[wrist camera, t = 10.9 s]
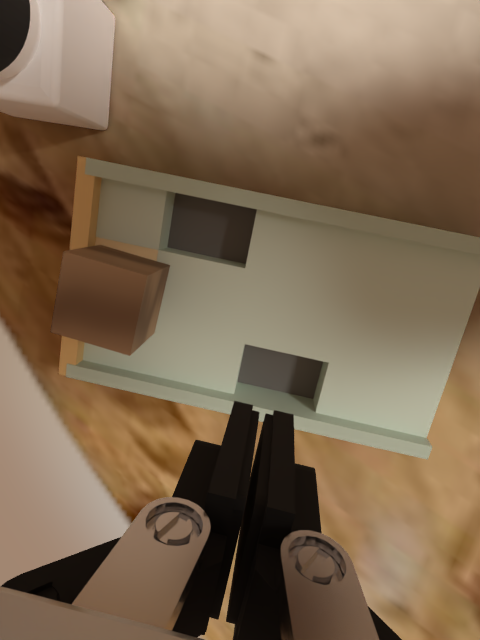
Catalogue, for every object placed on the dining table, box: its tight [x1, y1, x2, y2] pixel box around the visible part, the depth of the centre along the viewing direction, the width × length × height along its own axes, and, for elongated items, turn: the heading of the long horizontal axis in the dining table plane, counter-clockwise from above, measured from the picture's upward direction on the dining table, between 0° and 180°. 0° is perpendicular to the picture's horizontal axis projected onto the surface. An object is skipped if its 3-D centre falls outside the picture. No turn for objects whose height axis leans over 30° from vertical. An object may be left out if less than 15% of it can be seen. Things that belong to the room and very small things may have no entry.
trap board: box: [66, 157, 480, 459], centre depth 29 cm, size 26×15×4 cm, turn 79°
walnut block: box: [50, 245, 170, 356], centre depth 27 cm, size 5×5×5 cm
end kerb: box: [58, 156, 102, 376], centre depth 30 cm, size 1×15×4 cm, turn 169°
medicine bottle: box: [0, 0, 115, 130], centre depth 23 cm, size 7×7×12 cm
